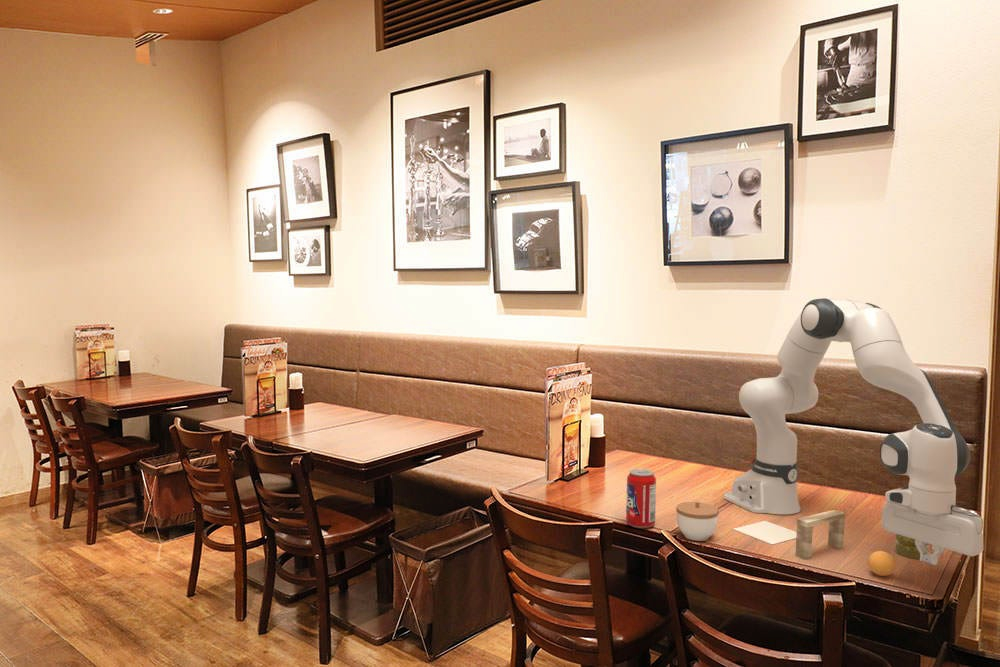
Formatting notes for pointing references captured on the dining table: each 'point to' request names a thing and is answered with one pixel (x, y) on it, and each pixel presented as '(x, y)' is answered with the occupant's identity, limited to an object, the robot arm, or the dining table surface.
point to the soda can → (641, 498)
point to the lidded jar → (697, 520)
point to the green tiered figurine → (907, 547)
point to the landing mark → (767, 532)
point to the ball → (881, 563)
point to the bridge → (806, 531)
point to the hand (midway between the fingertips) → (928, 562)
